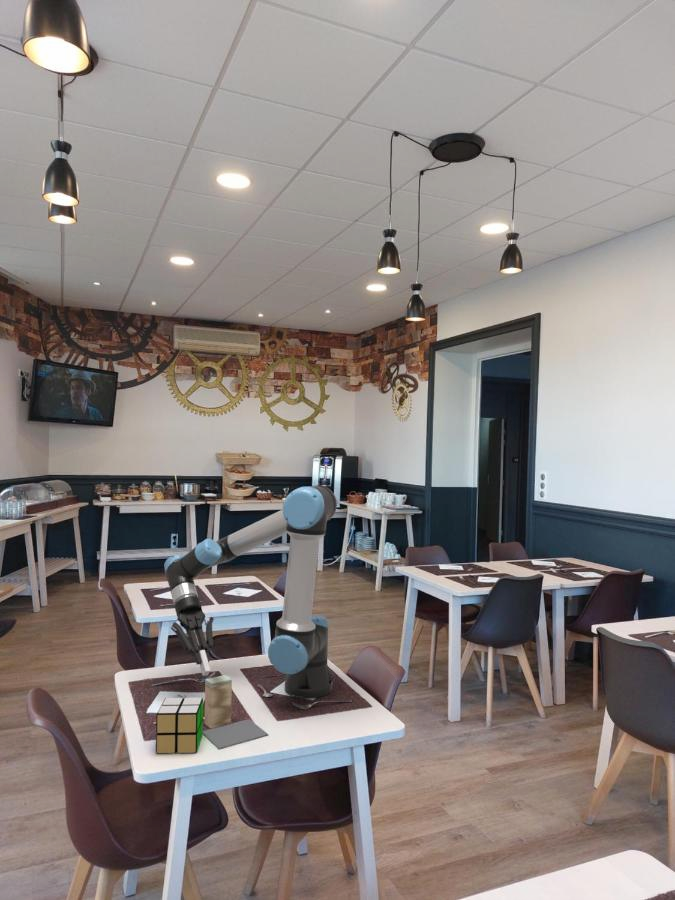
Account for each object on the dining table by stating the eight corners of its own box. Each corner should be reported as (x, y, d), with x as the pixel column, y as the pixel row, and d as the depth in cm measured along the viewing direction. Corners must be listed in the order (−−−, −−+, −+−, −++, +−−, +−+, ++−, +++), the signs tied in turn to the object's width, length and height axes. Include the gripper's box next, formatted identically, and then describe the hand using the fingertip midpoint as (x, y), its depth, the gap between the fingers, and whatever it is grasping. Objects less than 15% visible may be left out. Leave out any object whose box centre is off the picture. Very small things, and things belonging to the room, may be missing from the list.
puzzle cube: (164, 735, 158) (164, 697, 159) (202, 735, 159) (203, 697, 159) (155, 754, 148) (156, 713, 149) (196, 753, 149) (197, 713, 149)
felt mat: (249, 720, 168) (249, 719, 168) (268, 735, 159) (268, 734, 159) (201, 732, 160) (201, 731, 160) (218, 749, 151) (218, 748, 151)
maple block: (224, 718, 170) (225, 674, 170) (231, 723, 166) (231, 679, 166) (204, 723, 166) (205, 679, 166) (210, 728, 163) (211, 683, 163)
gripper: (203, 605, 191) (224, 675, 177) (162, 611, 184) (180, 684, 170) (210, 592, 187) (232, 662, 173) (168, 597, 179) (188, 671, 166)
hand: (206, 673), depth 171 cm, fingers closed
